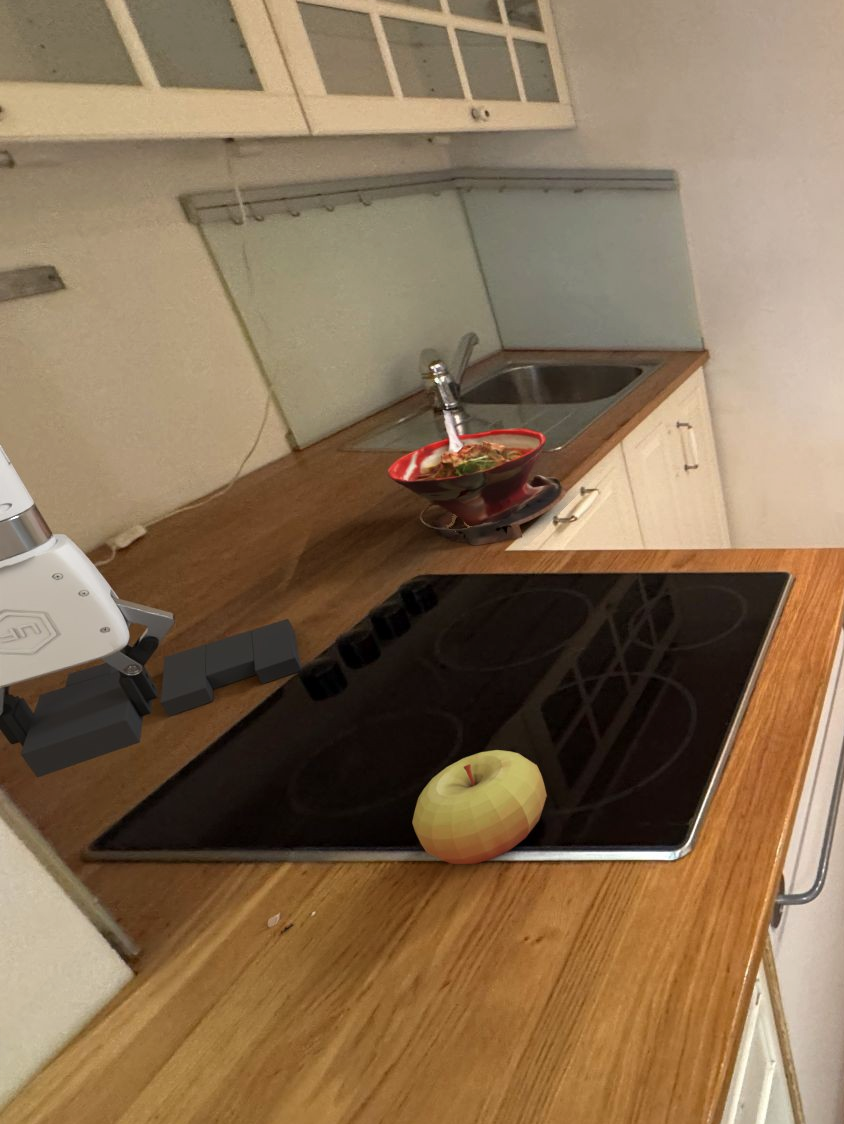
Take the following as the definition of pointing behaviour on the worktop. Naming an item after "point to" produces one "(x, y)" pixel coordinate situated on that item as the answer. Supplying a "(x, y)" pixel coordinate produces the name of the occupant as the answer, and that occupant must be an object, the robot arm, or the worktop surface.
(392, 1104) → the worktop surface
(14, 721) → the robot arm
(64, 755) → the dark grey beveled block
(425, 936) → the worktop surface
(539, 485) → the stew
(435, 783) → the apple
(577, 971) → the worktop surface
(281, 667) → the base pad
